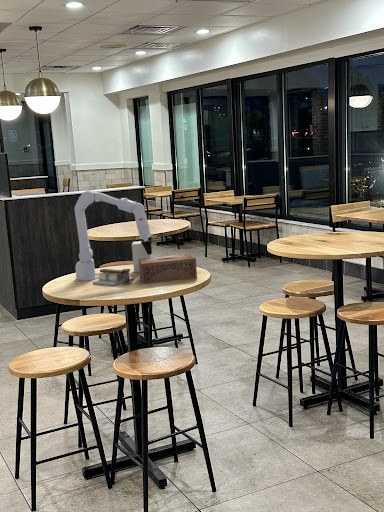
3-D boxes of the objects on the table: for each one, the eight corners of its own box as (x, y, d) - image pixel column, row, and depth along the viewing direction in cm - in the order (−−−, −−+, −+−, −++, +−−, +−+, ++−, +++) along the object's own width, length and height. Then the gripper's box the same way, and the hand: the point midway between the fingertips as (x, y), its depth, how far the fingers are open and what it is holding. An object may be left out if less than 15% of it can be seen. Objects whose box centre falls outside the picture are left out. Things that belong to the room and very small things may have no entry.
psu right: (109, 281, 304) (108, 274, 304) (118, 278, 309) (117, 272, 309) (117, 281, 301) (116, 275, 301) (125, 279, 306) (125, 272, 306)
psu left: (98, 280, 309) (98, 273, 308) (107, 277, 313) (107, 271, 313) (106, 281, 306) (105, 274, 305) (115, 278, 311) (114, 271, 310)
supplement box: (151, 271, 328) (148, 242, 325) (133, 272, 328) (131, 244, 326) (152, 268, 337) (150, 240, 334) (135, 269, 337) (133, 241, 335)
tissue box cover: (191, 273, 317) (190, 253, 315) (197, 278, 303) (195, 258, 301) (140, 278, 313) (138, 258, 311) (143, 284, 299) (141, 263, 297)
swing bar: (99, 272, 309) (99, 268, 309) (104, 271, 312) (104, 266, 312) (126, 274, 299) (126, 270, 299) (131, 273, 302) (131, 268, 301)
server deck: (92, 284, 306) (91, 272, 305) (112, 278, 317) (111, 267, 316) (120, 287, 295) (119, 275, 294) (140, 280, 306) (139, 269, 305)
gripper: (150, 226, 311) (157, 253, 313) (150, 223, 325) (157, 249, 328) (136, 230, 311) (143, 257, 313) (137, 226, 325) (143, 252, 327)
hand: (149, 253), depth 320 cm, fingers open, 7 cm apart
